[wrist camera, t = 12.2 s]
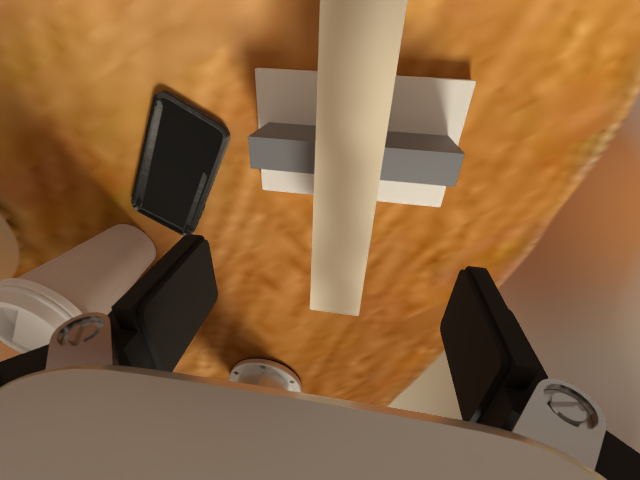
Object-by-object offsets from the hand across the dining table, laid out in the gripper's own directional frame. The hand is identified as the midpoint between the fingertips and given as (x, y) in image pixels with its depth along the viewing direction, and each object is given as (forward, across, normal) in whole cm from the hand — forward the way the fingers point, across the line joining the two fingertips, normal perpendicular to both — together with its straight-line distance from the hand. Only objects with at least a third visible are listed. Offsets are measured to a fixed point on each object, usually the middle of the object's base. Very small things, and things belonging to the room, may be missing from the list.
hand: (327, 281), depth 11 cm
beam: (+14, 0, 0) cm, 14 cm away
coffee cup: (+21, +28, +16) cm, 38 cm away
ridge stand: (+21, 0, 0) cm, 21 cm away
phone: (+22, +19, +5) cm, 29 cm away
